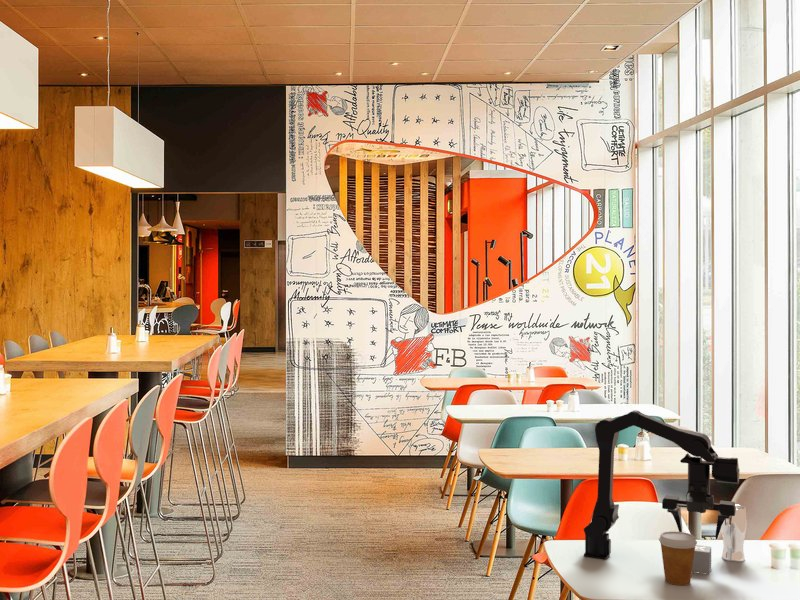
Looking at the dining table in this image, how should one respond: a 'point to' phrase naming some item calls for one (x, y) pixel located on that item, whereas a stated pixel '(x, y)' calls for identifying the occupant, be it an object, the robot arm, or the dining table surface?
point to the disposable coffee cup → (677, 556)
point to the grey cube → (702, 559)
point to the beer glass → (734, 535)
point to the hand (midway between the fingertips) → (698, 536)
